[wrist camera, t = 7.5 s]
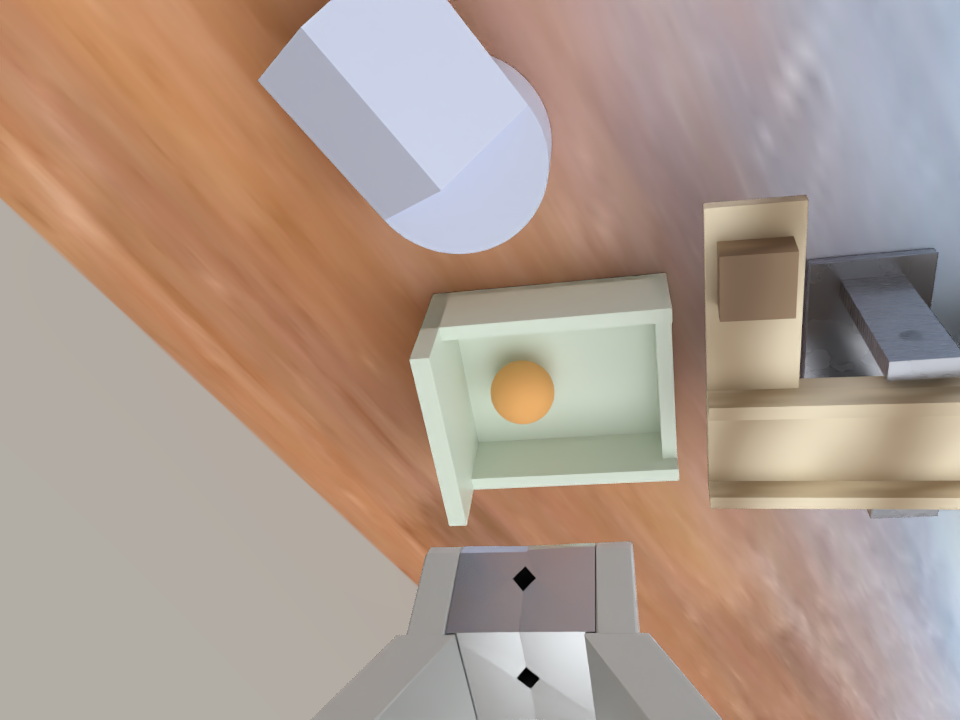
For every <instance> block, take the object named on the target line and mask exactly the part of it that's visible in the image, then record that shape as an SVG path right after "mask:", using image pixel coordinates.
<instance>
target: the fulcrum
mask: <svg viewBox="0 0 960 720" xmlns="http://www.w3.org/2000/svg"><path fill="white" fill-rule="evenodd" d="M937 259H938V252H937V251H936V250H935V249H934V248H931V249H920V250H909V251H898V252H887V253H876V254H865V255H854V256H843V257H832V258H822V259H811V260H808V271H807V290H806V308H805V326H804V344H803V362H802V378H830V377H862V376H884V377H885V379H886V380H887V381H901V380H916V379H932V378H948V377H960V348H959V347H958V346H957V344H956V343H955V342H954V340H953V339H952V338H951V336H950V335H949V334H948V333H947V331H946V330H945V329H944V327H943V326H942V325H941V323H940V322H939V321H938V319H937V318H936V317H935V315H934V314H933V313H932V311H931V310H930V307H931V300H932V293H933V286H934V280H935V273H936V266H937ZM867 511H868V513H869V516H870V518H892V517H921V516H938V510H933V509H867Z"/></svg>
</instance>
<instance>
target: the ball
mask: <svg viewBox="0 0 960 720" xmlns="http://www.w3.org/2000/svg"><path fill="white" fill-rule="evenodd" d="M554 392H555V391H554V385H553V381H552V379H551V377H550V375H549V374H548V372H547V371H546V370H545V369H544V368H543V367H541V366H540V365H538V364H536V363H534V362H531V361H524V360H521V361H514V362H511V363H509V364H507V365H505V366H504V367H502V368H501V369H500V370H499V371H498V372H497V374H496V375H495V377H494V379H493V381H492V385H491V400H492V403H493V406H494V408H495V409H496V411H497V412H498V413H499V414H500V415H501V416H502V417H503V418H504V419H506V420H507V421H510V422H512V423H516V424H529V423H533V422H536V421H538V420H539V419H541V418H542V417H543V416H545V415H546V413H547V412H548V411H549V409H550V408H551V406H552V404H553V400H554Z"/></svg>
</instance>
